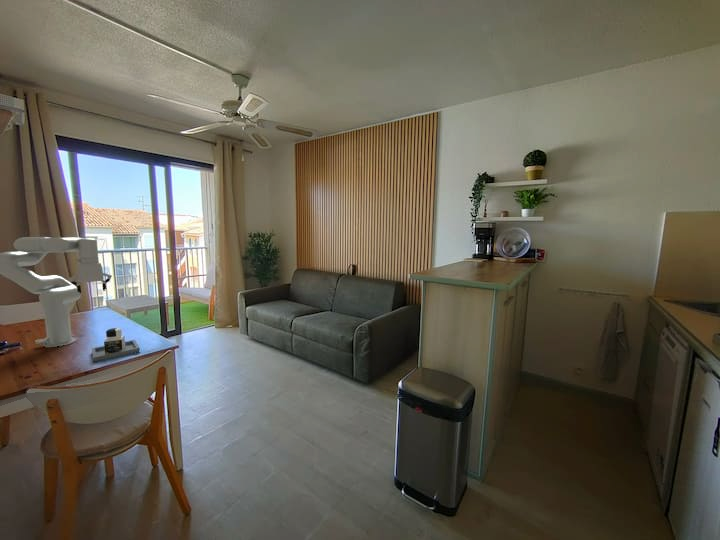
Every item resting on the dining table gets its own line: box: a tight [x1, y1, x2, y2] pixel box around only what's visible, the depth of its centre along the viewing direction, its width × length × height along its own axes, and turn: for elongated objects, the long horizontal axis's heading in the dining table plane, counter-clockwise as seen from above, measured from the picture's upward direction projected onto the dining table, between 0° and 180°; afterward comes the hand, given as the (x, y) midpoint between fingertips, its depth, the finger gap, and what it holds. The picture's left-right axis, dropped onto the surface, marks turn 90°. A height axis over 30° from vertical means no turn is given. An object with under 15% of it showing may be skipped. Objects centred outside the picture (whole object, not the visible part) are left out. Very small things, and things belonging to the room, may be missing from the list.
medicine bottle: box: [103, 327, 126, 354], centre depth 151 cm, size 7×7×12 cm
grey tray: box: [91, 339, 140, 363], centre depth 152 cm, size 18×16×2 cm
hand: (92, 291), depth 159 cm, fingers open, 9 cm apart
